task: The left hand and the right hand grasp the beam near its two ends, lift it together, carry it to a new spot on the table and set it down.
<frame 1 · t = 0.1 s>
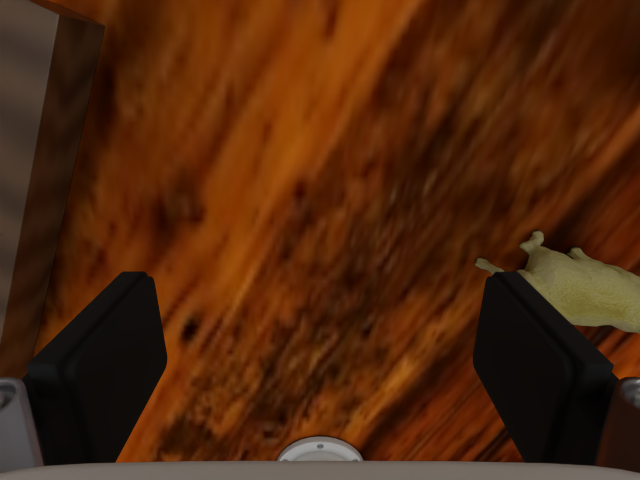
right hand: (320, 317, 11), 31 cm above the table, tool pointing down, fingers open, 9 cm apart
toy: (551, 263, 45), on the table
beam: (22, 308, 47), on the table
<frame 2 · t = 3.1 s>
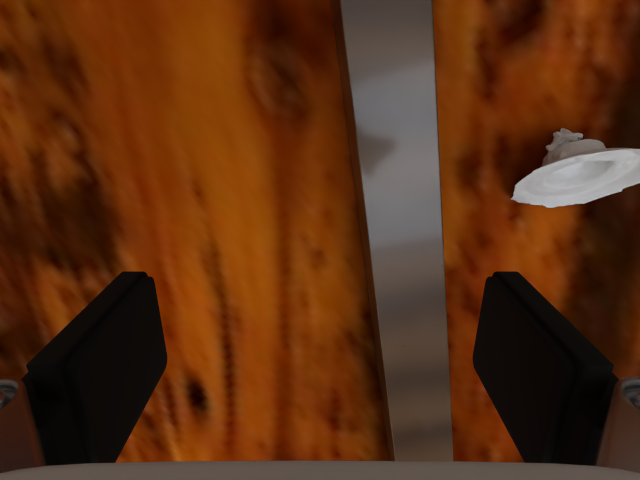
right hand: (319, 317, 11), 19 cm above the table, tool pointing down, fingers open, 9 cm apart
seashell: (554, 168, 29), on the table
beam: (397, 322, 34), on the table, touching left hand
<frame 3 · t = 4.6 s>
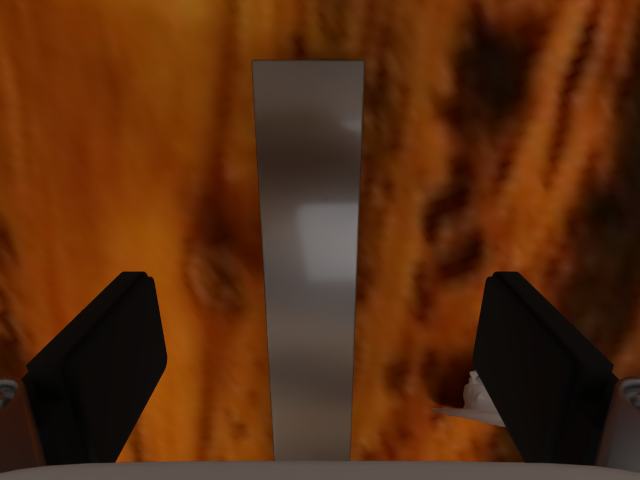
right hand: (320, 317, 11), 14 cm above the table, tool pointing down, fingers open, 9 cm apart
seashell: (478, 384, 30), on the table
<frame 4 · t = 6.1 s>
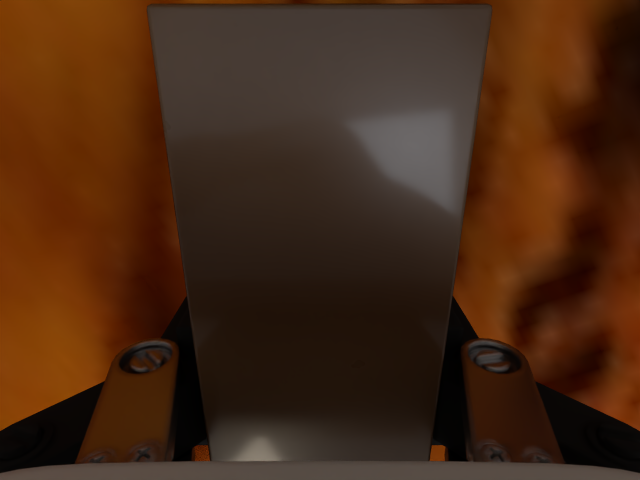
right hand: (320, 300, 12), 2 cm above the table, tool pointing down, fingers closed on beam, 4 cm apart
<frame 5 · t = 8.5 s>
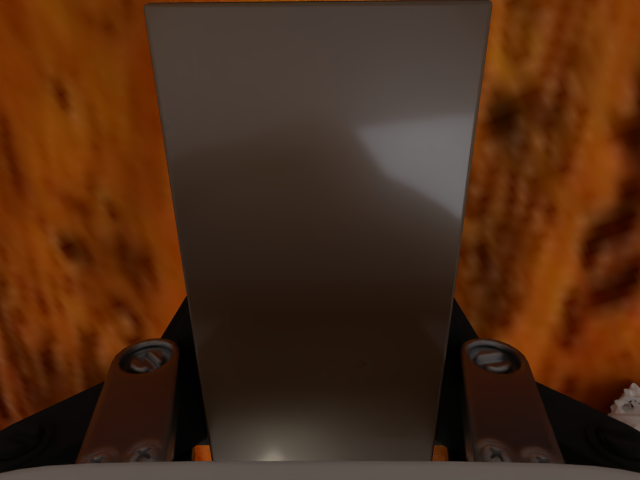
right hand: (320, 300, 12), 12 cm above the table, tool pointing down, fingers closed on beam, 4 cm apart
seashell: (616, 411, 29), on the table
when the left hand's fingers open (3 cm above the table, at t = 11.0 s): beam drops 1 cm, on the table.
when the right hand's fingers open (3 cm above the table, at t = 11.0 s): beam drops 1 cm, on the table.
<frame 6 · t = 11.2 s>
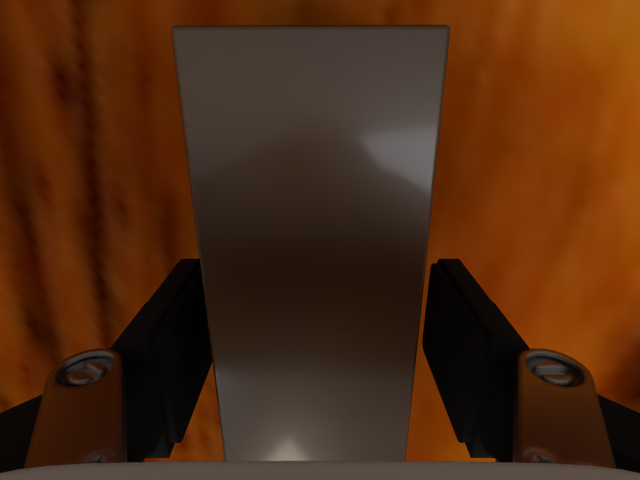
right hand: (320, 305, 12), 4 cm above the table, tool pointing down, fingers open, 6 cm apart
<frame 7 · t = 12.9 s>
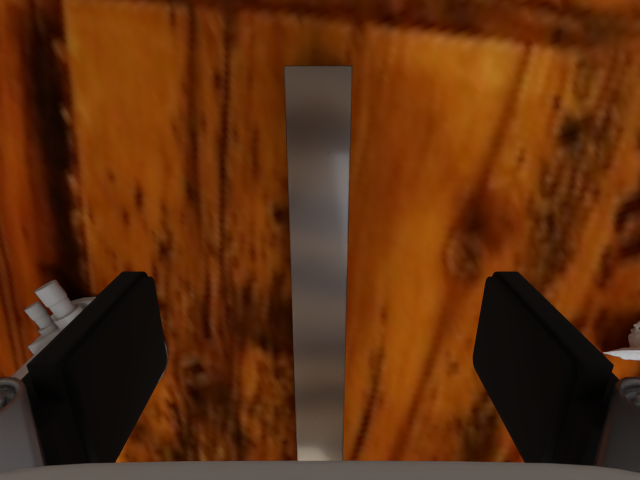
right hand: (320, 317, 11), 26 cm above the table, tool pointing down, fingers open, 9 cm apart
seashell: (633, 335, 42), on the table
beam: (319, 393, 45), on the table
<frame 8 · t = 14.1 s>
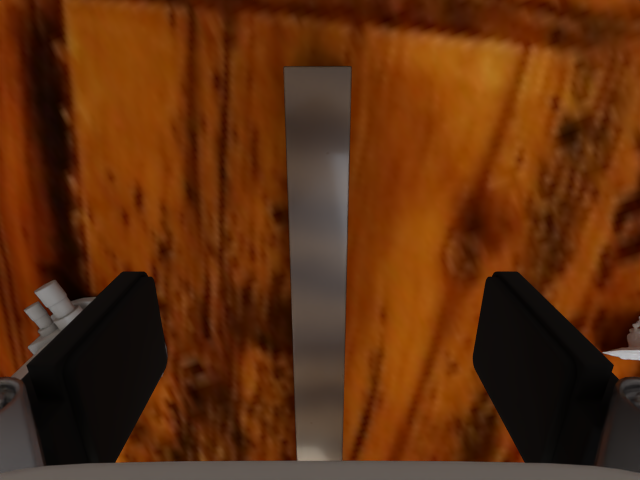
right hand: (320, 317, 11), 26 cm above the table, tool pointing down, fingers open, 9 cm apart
seashell: (632, 335, 42), on the table
beam: (319, 393, 45), on the table
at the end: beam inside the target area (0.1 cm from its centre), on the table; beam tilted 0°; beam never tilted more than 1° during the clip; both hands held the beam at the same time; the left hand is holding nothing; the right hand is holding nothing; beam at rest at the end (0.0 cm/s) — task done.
